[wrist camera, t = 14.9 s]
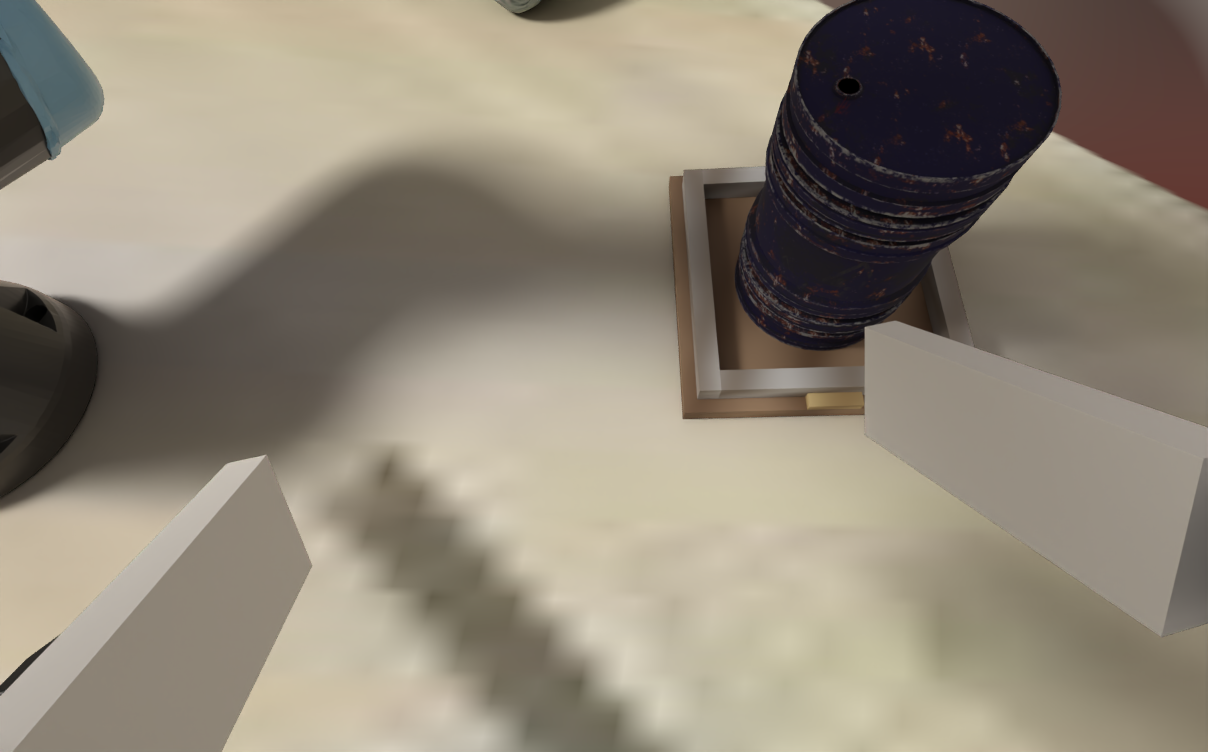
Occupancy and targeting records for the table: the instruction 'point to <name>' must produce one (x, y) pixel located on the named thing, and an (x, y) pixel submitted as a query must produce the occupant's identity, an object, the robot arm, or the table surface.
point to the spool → (518, 5)
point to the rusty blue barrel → (886, 159)
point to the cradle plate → (736, 344)
